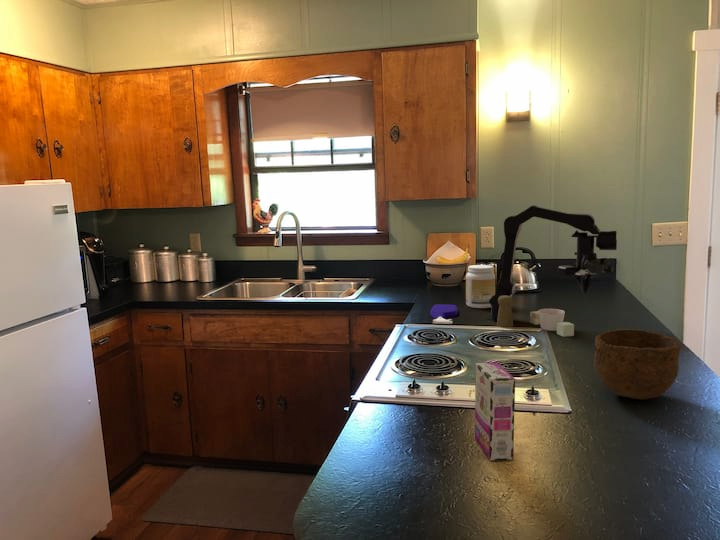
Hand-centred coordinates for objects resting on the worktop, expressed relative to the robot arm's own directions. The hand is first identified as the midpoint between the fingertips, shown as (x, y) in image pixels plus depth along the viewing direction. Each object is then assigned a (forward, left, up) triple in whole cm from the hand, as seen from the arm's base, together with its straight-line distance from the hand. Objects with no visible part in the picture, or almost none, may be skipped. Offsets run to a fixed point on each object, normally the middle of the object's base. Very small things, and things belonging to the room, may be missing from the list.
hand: (584, 293), depth 213 cm
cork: (-10, -26, -12) cm, 30 cm away
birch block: (-9, -13, -12) cm, 20 cm away
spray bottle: (-30, -42, -13) cm, 53 cm away
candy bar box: (+81, -75, -12) cm, 111 cm away
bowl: (+65, -30, -12) cm, 73 cm away
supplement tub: (-44, -20, -12) cm, 49 cm away
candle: (0, -13, -12) cm, 18 cm away
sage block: (+9, -13, -12) cm, 20 cm away
